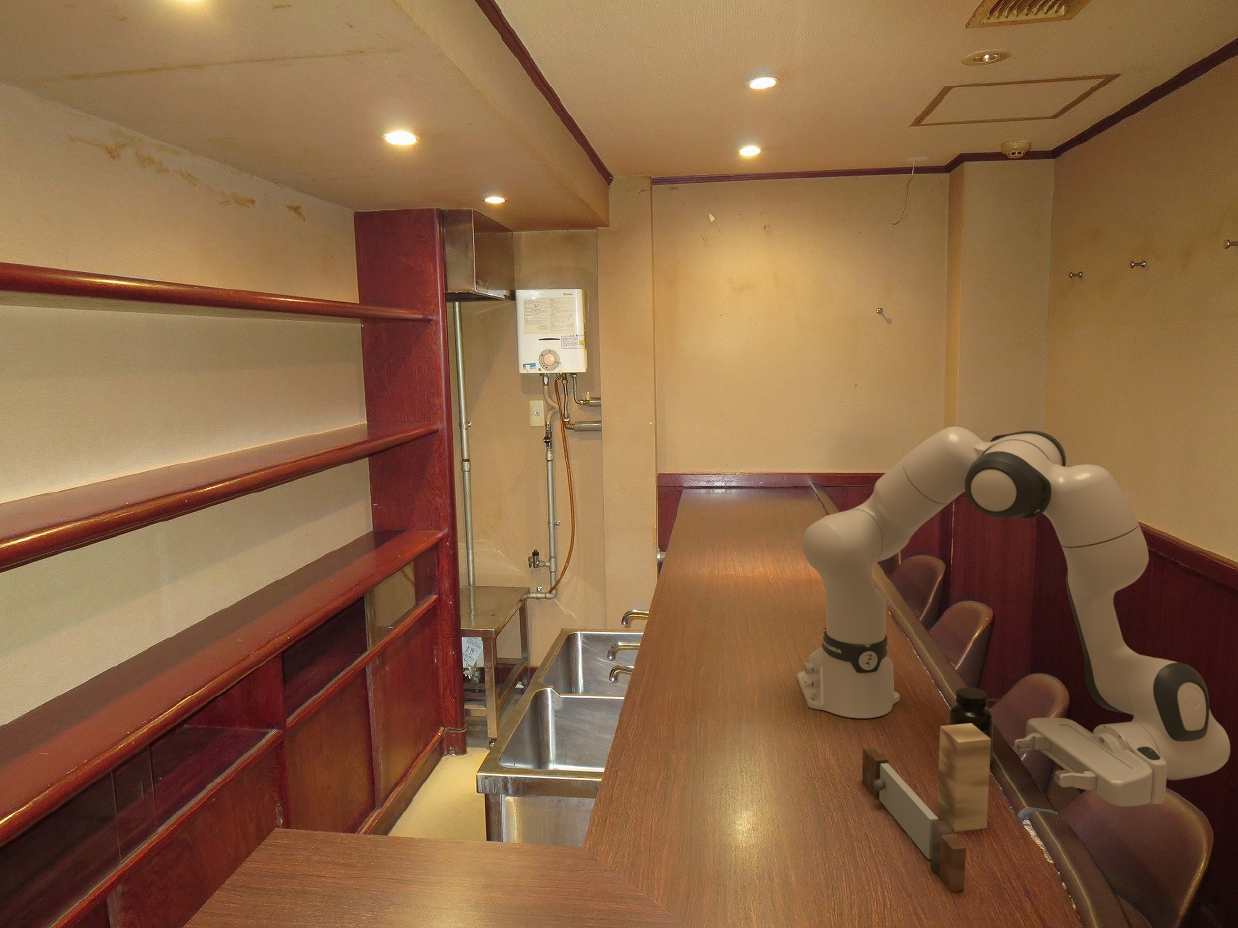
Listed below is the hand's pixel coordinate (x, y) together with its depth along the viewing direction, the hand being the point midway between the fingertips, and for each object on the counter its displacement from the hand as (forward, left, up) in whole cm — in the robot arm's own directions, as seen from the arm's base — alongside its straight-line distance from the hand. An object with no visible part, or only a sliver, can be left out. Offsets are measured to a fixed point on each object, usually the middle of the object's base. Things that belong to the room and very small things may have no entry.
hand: (1036, 762), depth 122 cm
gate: (+1, -22, -8) cm, 23 cm away
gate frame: (+1, -21, -8) cm, 22 cm away
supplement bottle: (-16, -1, -8) cm, 18 cm away
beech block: (0, -12, -8) cm, 14 cm away
